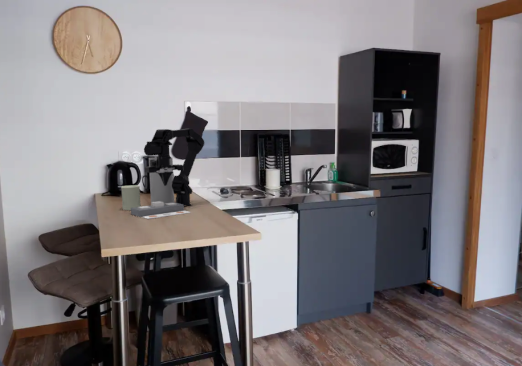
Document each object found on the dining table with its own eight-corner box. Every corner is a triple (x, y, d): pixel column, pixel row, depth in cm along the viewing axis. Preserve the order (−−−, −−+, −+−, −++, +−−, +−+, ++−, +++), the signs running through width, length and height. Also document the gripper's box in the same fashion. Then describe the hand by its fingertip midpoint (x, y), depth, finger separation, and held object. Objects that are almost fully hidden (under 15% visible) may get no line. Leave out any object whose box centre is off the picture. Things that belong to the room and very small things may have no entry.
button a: (146, 210, 213) (146, 206, 213) (150, 212, 210) (150, 207, 210) (137, 212, 211) (137, 207, 210) (141, 213, 207) (141, 208, 207)
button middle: (159, 206, 218) (159, 201, 217) (163, 207, 214) (163, 202, 214) (151, 207, 215) (151, 202, 215) (155, 208, 211) (155, 203, 211)
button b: (172, 207, 222) (172, 202, 222) (176, 208, 219) (176, 203, 218) (164, 208, 219) (164, 203, 219) (168, 209, 216) (168, 204, 216)
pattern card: (184, 211, 217) (184, 210, 217) (190, 212, 212) (190, 211, 212) (142, 217, 203) (142, 216, 203) (147, 219, 198) (147, 218, 198)
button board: (174, 208, 226) (174, 202, 226) (183, 210, 218) (183, 204, 218) (131, 214, 212) (130, 207, 211) (139, 217, 204) (139, 210, 203)
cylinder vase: (171, 205, 235) (169, 158, 232) (148, 205, 235) (145, 158, 232) (176, 201, 247) (174, 156, 244) (154, 201, 248) (152, 157, 245)
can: (133, 210, 221) (132, 186, 220) (118, 209, 224) (117, 186, 223) (144, 207, 230) (143, 184, 229) (129, 206, 233) (128, 184, 232)
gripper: (173, 153, 232) (174, 182, 234) (139, 155, 220) (140, 186, 222) (183, 153, 223) (184, 184, 225) (148, 155, 212) (150, 188, 213)
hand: (165, 185), depth 222 cm, fingers closed
